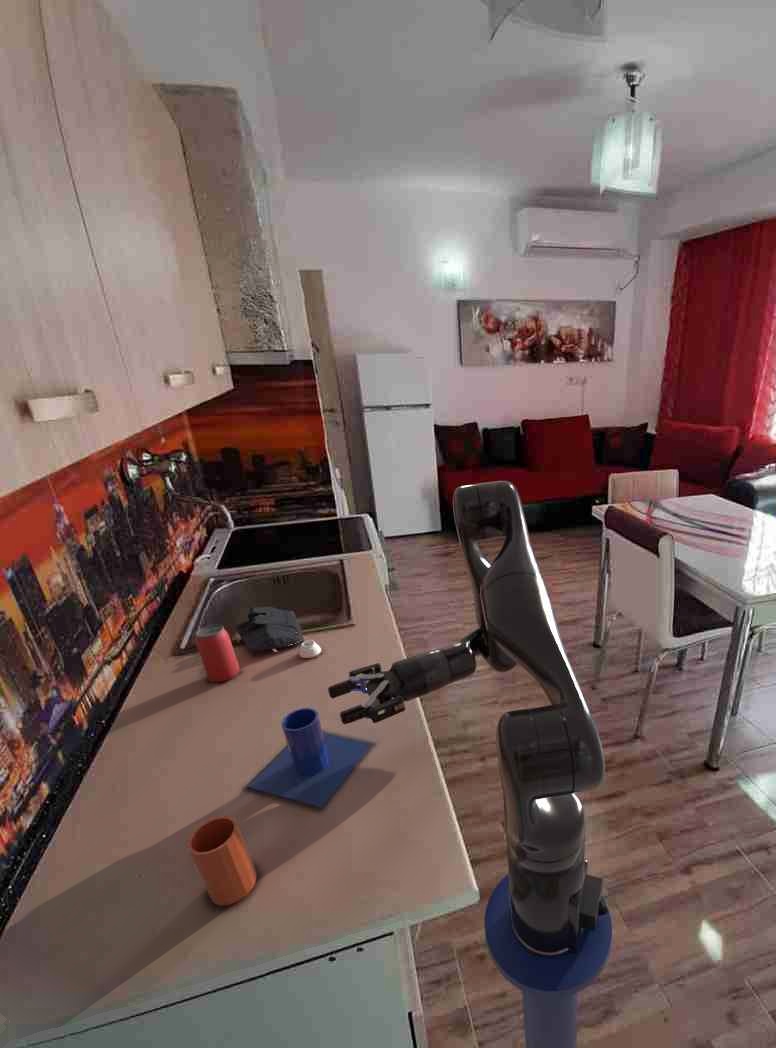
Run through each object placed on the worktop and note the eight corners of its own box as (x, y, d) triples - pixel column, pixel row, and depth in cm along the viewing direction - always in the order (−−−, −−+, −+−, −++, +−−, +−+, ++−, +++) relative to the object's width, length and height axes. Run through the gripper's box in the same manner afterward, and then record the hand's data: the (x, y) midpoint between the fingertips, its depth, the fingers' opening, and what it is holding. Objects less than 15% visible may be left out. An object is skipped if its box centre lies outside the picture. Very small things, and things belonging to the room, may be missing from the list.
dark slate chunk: (242, 663, 122) (236, 646, 120) (235, 626, 140) (231, 610, 138) (307, 644, 129) (303, 628, 127) (293, 611, 146) (290, 596, 144)
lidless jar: (323, 654, 124) (317, 646, 128) (321, 644, 123) (315, 635, 127) (303, 661, 122) (297, 653, 125) (300, 651, 120) (294, 642, 124)
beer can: (245, 673, 118) (230, 628, 113) (216, 687, 114) (200, 641, 109) (232, 663, 122) (218, 620, 117) (204, 677, 118) (188, 632, 113)
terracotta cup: (265, 872, 72) (246, 821, 68) (233, 911, 67) (211, 860, 63) (234, 861, 74) (213, 811, 70) (200, 898, 69) (176, 847, 65)
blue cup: (330, 769, 89) (319, 724, 84) (295, 780, 87) (282, 734, 83) (327, 748, 94) (316, 704, 89) (294, 758, 92) (281, 713, 88)
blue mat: (372, 744, 94) (371, 743, 94) (321, 808, 81) (320, 807, 81) (306, 729, 99) (305, 728, 99) (248, 787, 86) (247, 786, 86)
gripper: (405, 641, 100) (321, 668, 92) (434, 675, 88) (341, 709, 81) (410, 673, 103) (329, 702, 96) (439, 710, 91) (349, 746, 84)
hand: (334, 705), depth 88 cm, fingers open, 8 cm apart
